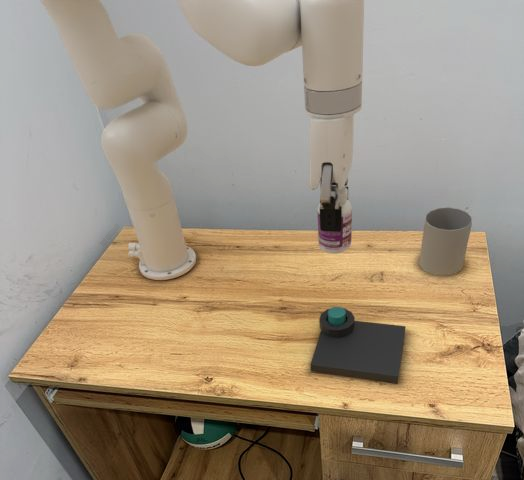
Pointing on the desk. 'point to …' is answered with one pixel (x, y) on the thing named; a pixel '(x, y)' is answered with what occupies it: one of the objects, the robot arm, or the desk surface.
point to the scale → (359, 349)
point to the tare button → (336, 315)
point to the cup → (445, 241)
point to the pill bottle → (342, 239)
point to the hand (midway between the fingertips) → (334, 219)
